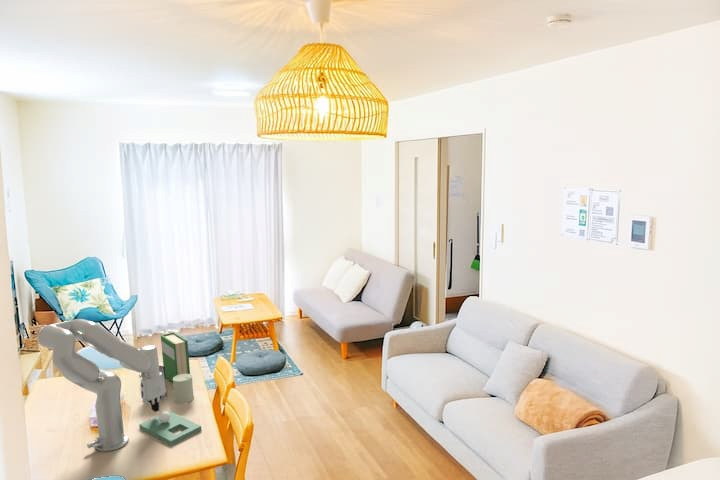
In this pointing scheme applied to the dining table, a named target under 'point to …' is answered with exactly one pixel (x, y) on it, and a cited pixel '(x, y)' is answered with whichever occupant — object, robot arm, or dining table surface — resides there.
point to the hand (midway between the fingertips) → (155, 410)
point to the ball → (164, 417)
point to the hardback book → (175, 355)
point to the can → (183, 388)
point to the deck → (170, 428)
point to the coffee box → (162, 370)
